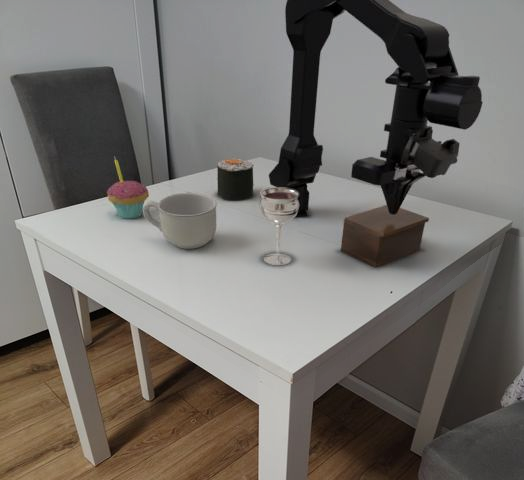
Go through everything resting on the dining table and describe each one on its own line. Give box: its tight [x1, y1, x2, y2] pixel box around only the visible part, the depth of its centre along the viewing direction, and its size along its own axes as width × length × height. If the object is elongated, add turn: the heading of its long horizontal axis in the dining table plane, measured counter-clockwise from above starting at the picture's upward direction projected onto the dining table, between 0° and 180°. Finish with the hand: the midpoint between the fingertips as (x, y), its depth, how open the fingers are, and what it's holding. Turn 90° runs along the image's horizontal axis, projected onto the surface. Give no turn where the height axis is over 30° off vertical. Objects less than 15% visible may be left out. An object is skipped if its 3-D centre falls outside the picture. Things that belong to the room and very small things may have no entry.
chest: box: [340, 221, 426, 268], centre depth 91 cm, size 9×13×6 cm
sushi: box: [217, 157, 255, 201], centre depth 116 cm, size 8×8×8 cm
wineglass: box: [259, 186, 300, 266], centre depth 85 cm, size 7×7×12 cm
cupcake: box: [106, 155, 150, 219], centre depth 103 cm, size 9×8×12 cm
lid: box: [343, 204, 430, 237], centre depth 88 cm, size 9×13×1 cm
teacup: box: [142, 192, 217, 250], centre depth 92 cm, size 14×11×8 cm
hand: (392, 213), depth 87 cm, fingers closed
